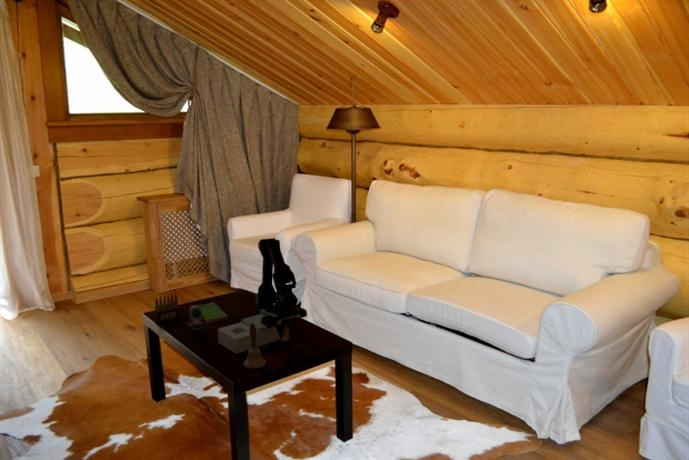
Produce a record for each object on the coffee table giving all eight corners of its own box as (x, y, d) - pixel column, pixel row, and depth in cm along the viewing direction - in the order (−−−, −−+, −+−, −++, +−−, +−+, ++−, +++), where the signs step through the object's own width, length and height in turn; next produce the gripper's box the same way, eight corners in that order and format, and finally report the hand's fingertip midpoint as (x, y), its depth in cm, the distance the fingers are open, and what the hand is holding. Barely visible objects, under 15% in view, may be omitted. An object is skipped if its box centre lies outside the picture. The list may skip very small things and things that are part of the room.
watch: (192, 335, 242) (190, 310, 239) (186, 328, 248) (184, 304, 246) (205, 332, 245) (203, 307, 242) (199, 326, 251) (197, 302, 249)
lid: (263, 316, 246) (263, 309, 245) (280, 324, 236) (280, 317, 235) (242, 322, 239) (241, 315, 238) (258, 331, 230) (258, 323, 229)
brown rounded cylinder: (286, 337, 233) (285, 324, 232) (291, 339, 230) (290, 326, 229) (279, 339, 231) (278, 326, 229) (284, 341, 228) (283, 328, 227)
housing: (264, 328, 248) (263, 315, 247) (282, 338, 237) (282, 325, 236) (218, 342, 234) (217, 329, 233) (236, 353, 224) (235, 339, 222)
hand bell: (256, 370, 210) (254, 329, 206) (239, 365, 214) (237, 325, 210) (270, 361, 217) (269, 322, 213) (253, 357, 221) (252, 317, 217)
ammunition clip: (178, 317, 262) (176, 292, 259) (180, 318, 261) (178, 293, 258) (155, 322, 255) (153, 297, 253) (157, 324, 254) (155, 298, 251)
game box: (206, 326, 254) (194, 309, 272) (228, 322, 259) (214, 306, 276) (206, 319, 254) (194, 303, 271) (228, 315, 258) (214, 300, 275)
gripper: (291, 290, 239) (292, 325, 242) (252, 300, 227) (254, 337, 230) (307, 296, 230) (308, 333, 234) (268, 307, 219) (269, 345, 222)
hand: (285, 336), depth 230 cm, fingers closed on brown rounded cylinder, 3 cm apart
